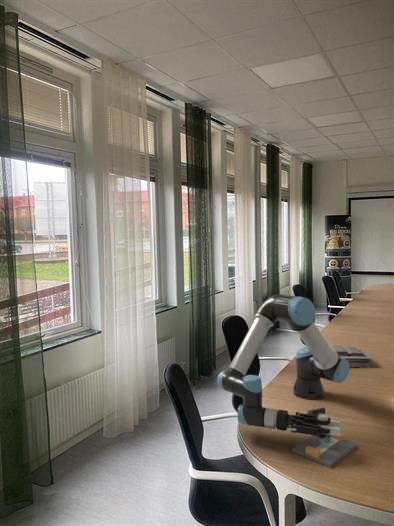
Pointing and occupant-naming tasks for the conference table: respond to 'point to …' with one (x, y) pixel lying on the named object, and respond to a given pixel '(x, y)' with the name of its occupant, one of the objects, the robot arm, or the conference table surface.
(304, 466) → the conference table surface
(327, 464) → the mounting panel
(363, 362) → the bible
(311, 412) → the mini dv tape
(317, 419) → the push button
